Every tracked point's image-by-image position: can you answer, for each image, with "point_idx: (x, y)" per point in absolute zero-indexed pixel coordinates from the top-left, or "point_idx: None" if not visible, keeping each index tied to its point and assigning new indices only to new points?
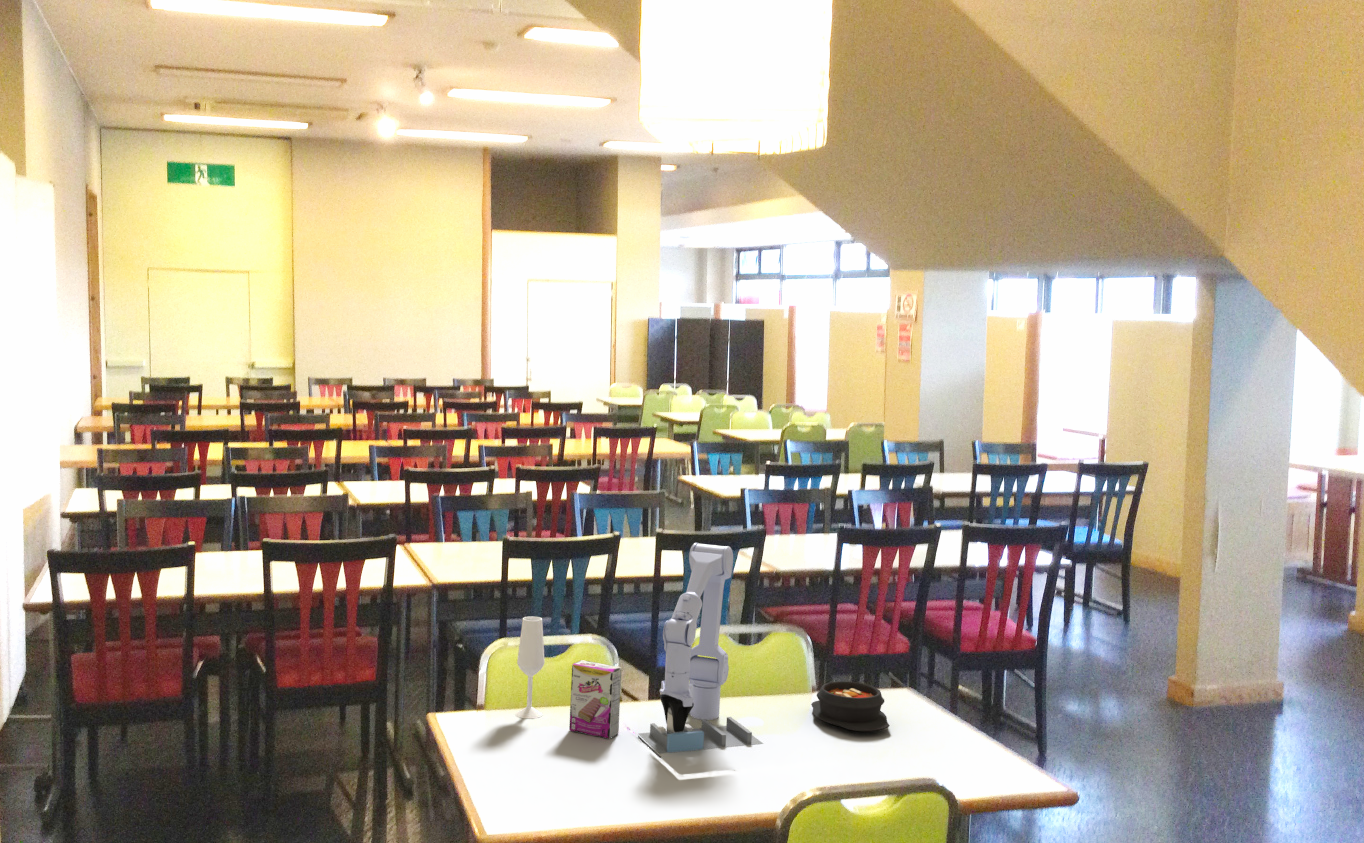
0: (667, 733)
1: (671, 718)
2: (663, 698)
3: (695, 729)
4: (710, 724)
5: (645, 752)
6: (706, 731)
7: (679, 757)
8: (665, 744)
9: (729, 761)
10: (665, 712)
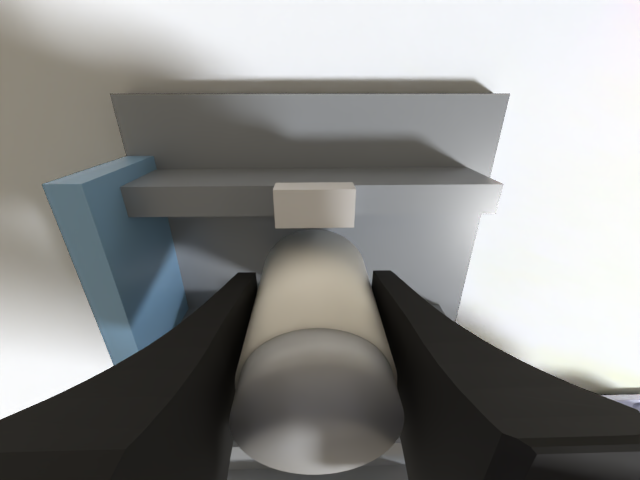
0: (308, 234)
1: (267, 314)
2: (489, 448)
3: None
4: None
5: (231, 37)
6: None
7: None
8: (203, 173)
9: (84, 373)
10: (414, 316)
